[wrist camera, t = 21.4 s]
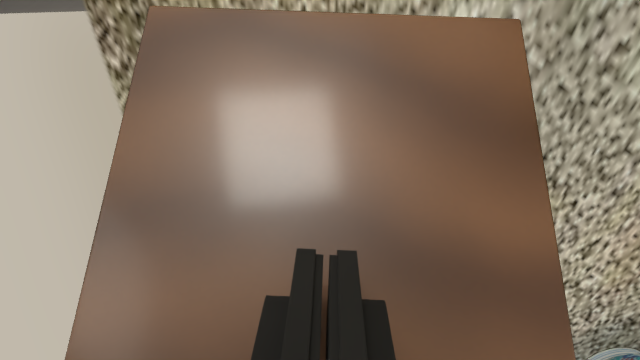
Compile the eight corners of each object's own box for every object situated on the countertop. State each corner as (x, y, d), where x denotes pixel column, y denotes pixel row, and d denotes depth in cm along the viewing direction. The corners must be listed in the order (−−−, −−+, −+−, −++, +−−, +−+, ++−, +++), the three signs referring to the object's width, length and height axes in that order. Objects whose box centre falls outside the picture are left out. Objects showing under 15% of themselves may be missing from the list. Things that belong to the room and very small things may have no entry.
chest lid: (601, 628, 10) (626, 655, 9) (25, 597, 10) (-1, 621, 9) (511, 32, 16) (521, 18, 15) (156, 19, 16) (148, 4, 15)
